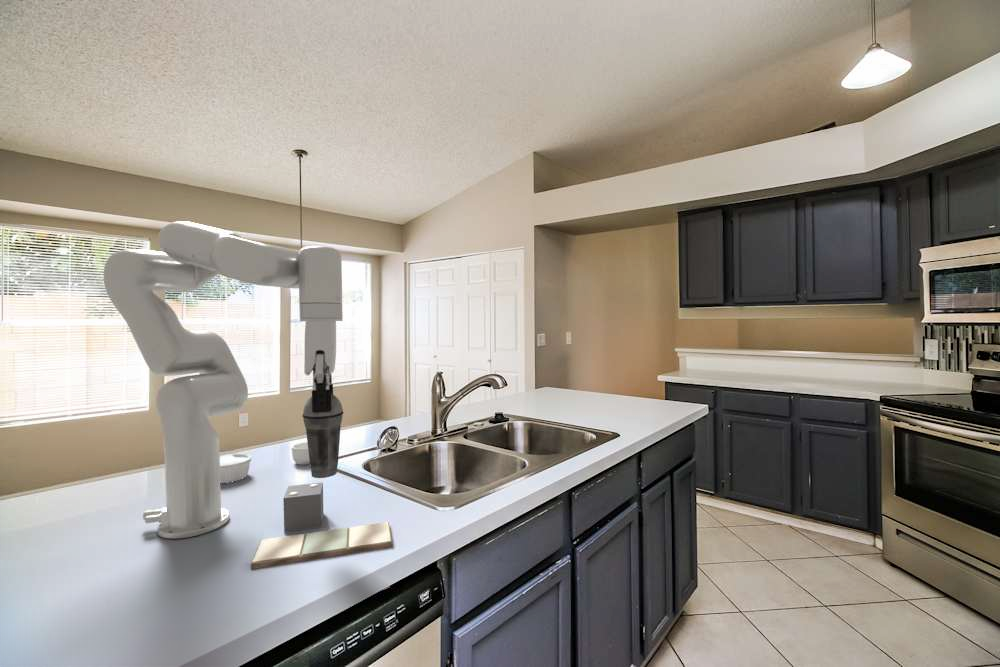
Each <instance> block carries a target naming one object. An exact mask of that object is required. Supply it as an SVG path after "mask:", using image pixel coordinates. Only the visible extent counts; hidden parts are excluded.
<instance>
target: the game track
mask: <svg viewBox="0 0 1000 667" xmlns="http://www.w3.org/2000/svg"><path fill="white" fill-rule="evenodd" d="M391 546H392V547H393V540H392V534H391V527H390V522H389V521H385V522H379V523H371V524H365V525H356V526H350V527H343V528H337V529H336V528H335V529H328V530H327V529H326V530H322V531H314V532H308V533H307V532H306V533H300V534H294V535H285V536H280V537H272V538H264V539H261V540H260V542H259V544H258V546H257V548H256V551H255V553H254V555H253V557H252V560H251V562H250V570H252V569H258V568H259V569H260V568H265V567H270V566H276V565H277V566H278V565H283V564H291V563H296V562H303V561H309V560H315V559H316V560H317V559H322V558H323V559H324V558H328V557H334V556H342V555H347V554H355V553H360V552H361V553H362V552H367V551H373V550H378V549H379V550H380V549H385V548H384V547H387V548H391Z"/></svg>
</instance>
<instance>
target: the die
mask: <svg viewBox="0 0 1000 667" xmlns="http://www.w3.org/2000/svg"><path fill="white" fill-rule="evenodd" d="M323 517H324V482H316V483H315V482H314V483H305V484H296V485H288V486H287V488H286V491H285V494H284V496H283V531H284V532H283V533H289V532H294V531H296V532H297V531H302V530H309V529H317V528H322V526H323V519H324V518H323Z"/></svg>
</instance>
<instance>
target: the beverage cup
mask: <svg viewBox="0 0 1000 667" xmlns="http://www.w3.org/2000/svg"><path fill="white" fill-rule="evenodd" d="M302 412H303V413H302V416H301V417H302V419H303V423H304V427H305V433H306V434H305V435H306V442H307V443H308V452H309V461H310V464H309V468H310V471H311V477H312V478H315V479H325V478H330V477H333V476H335V475H336V474H337V473H338V465H339V454H340V452H339V451H340V440H341V427H342V426H341V424H342V422H343V416H344V415H343V414H344V410H343V405H342V403H341V400H339V398H338V397H337V396H336V395H334V393H333V394H331V411H330V412H319V413H313V412H312V396H311V397H309V398H308V400H307V401H306V403H305V404H304V407H303V411H302Z"/></svg>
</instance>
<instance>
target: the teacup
mask: <svg viewBox="0 0 1000 667" xmlns="http://www.w3.org/2000/svg"><path fill="white" fill-rule="evenodd" d="M291 454H292V455H291V456H292V460H293V462H294V463H295V464H297V465H299V466H305V465H306V466H307V465H310V461H309V452H308V443H307V441H302V442H298V443H296V444H293V445H291Z"/></svg>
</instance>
